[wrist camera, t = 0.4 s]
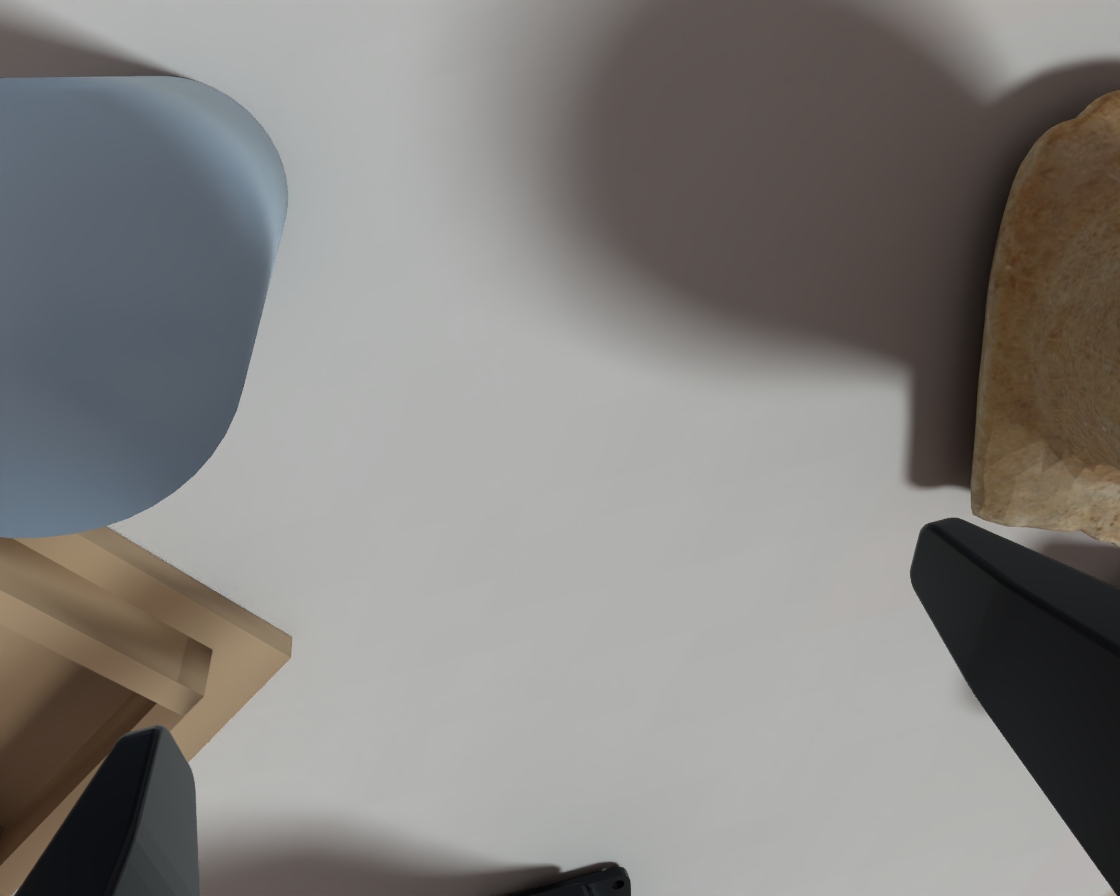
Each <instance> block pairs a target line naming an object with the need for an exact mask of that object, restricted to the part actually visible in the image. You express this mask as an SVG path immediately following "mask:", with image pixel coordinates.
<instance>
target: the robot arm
mask: <svg viewBox="0 0 1120 896" xmlns="http://www.w3.org/2000/svg"><path fill="white" fill-rule="evenodd" d="M910 578H911V583H912V586H913V588H914V590H915V592H916V594H917V596H918V598H919V599H920V601H921V603H922V605H923V606H924V608H925V610H926V612H927V614H928V615H929V617H930V619H931V621H932V622H933V624H934V626H935V628H936V629H937V631H938V633H939V635H940V636H941V638H942V640H943V642H944V643H945V645H946V647H947V649H948V650H949V652H950V654H951V656H952V657H953V659H954V661H955V663H956V664H957V666H958V668H959V670H960V671H961V673H962V675H963V677H964V678H965V680H966V682H967V683H968V685H969V687H970V688H971V690H972V691H973V693H974V695H975V696H976V698H977V699H978V700H979V702H980V703H981V705H982V706H983V708H984V709H985V711H986V712H987V714H988V715H989V716H990V718H991V719H992V721H993V722H994V723H995V725H996V726H997V728H998V729H999V730H1000V732H1001V733H1002V735H1003V736H1004V737H1005V739H1006V740H1007V742H1008V743H1009V744H1010V746H1011V747H1012V749H1013V750H1014V752H1015V753H1016V754H1017V756H1018V757H1019V759H1020V760H1021V761H1022V763H1023V764H1024V766H1025V767H1026V768H1027V770H1028V771H1029V773H1030V774H1031V775H1032V777H1033V778H1034V780H1035V781H1036V782H1037V784H1038V785H1039V787H1040V788H1041V789H1042V791H1043V792H1044V794H1045V795H1046V796H1047V798H1048V799H1049V801H1050V802H1051V803H1052V805H1053V806H1054V808H1055V809H1056V811H1057V812H1058V813H1059V815H1060V816H1061V818H1062V819H1063V820H1064V822H1065V823H1066V825H1067V826H1068V827H1069V829H1070V830H1071V832H1072V833H1073V834H1074V836H1075V837H1076V839H1077V840H1078V841H1079V843H1080V844H1081V846H1082V847H1083V848H1084V850H1085V851H1086V853H1087V854H1088V855H1089V857H1090V858H1091V860H1092V861H1093V862H1094V864H1095V865H1096V867H1097V868H1098V869H1099V871H1100V872H1101V874H1102V875H1103V877H1104V878H1105V879H1106V881H1107V882H1108V884H1109V885H1110V886H1111V888H1112V889H1113V891H1114V892H1115V893H1116V895H1117V896H1120V589H1119V588H1117V587H1115V586H1113V585H1110V584H1108V583H1106V582H1103V581H1101V580H1099V579H1097V578H1094V577H1092V576H1090V575H1088V574H1085V573H1083V572H1081V571H1078V570H1076V569H1074V568H1072V567H1069V566H1067V565H1065V564H1062V563H1060V562H1058V561H1056V560H1053V559H1051V558H1049V557H1047V556H1044V555H1042V554H1040V553H1037V552H1035V551H1033V550H1031V549H1028V548H1026V547H1024V546H1021V545H1019V544H1017V543H1015V542H1012V541H1010V540H1008V539H1006V538H1003V537H1001V536H999V535H996V534H994V533H992V532H990V531H987V530H985V529H983V528H980V527H978V526H976V525H974V524H971V523H969V522H967V521H965V520H962V519H959V518H947V519H943V520H939V521H935V522H931V523H928V524H926V525H924V526H923V528H922V529H921V530H920V533H919V537H918V541H917V544H916V548H915V552H914V556H913V560H912V564H911V569H910ZM14 896H200V895H199V869H198V844H197V819H196V793H195V782H194V777H193V773H192V770H191V768H190V766H189V764H188V762H187V760H186V759H185V757H184V755H183V753H182V752H181V750H180V748H179V747H178V745H177V743H176V741H175V740H174V738H173V736H172V735H171V733H170V731H169V730H168V729H167V728H166V727H165V726H163V725H155V726H151V727H147V728H143V729H139V730H136V731H132V732H128V733H126V734H124V735H123V736H121V737H120V738H119V739H118V740H117V742H116V743H115V744H114V746H113V747H112V749H111V750H110V752H109V753H108V755H107V756H106V758H105V759H104V761H103V762H102V764H101V765H100V767H99V768H98V770H97V771H96V773H95V775H94V776H93V778H92V779H91V781H90V782H89V784H88V785H87V787H86V788H85V790H84V791H83V793H82V794H81V796H80V797H79V799H78V800H77V802H76V803H75V805H74V806H73V808H72V809H71V811H70V812H69V814H68V815H67V817H66V818H65V820H64V821H63V823H62V824H61V826H60V827H59V829H58V830H57V832H56V833H55V835H54V836H53V838H52V839H51V841H50V842H49V844H48V845H47V847H46V849H45V850H44V852H43V853H42V855H41V856H40V858H39V859H38V861H37V862H36V864H35V865H34V867H33V868H32V870H31V871H30V873H29V874H28V876H27V877H26V879H25V880H24V882H23V883H22V885H21V886H20V888H19V889H18V891H17V892H16V894H15V895H14ZM514 896H631V884H630V879H629V876H628V873H627V871H626V869H624V868H623V867H615V868H611V869H607V870H604V871H600V872H597V873H593V874H589V875H586V876H582V877H579V878H575V879H571V880H568V881H564V882H561V883H557V884H553V885H550V886H546V887H543V888H539V889H535V890H532V891H528V892H525V893H521V894H517V895H514Z"/></svg>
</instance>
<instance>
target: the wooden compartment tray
mask: <svg viewBox="0 0 1120 896" xmlns="http://www.w3.org/2000/svg"><path fill="white" fill-rule="evenodd" d="M291 648H292V637H291V636H289V635H288V634H286V633H284V632H283V631H281V630H279V629H277V628H276V627H274V626H272V625H271V624H269V623H267V622H266V621H264V620H262V619H261V618H259V617H257V616H256V615H254V614H252V613H251V612H249V611H247V610H246V609H244V608H242V607H240V606H239V605H237V604H235V603H234V602H232V601H230V600H229V599H227V598H225V597H224V596H222V595H220V594H219V593H217V592H215V591H214V590H212V589H210V588H209V587H207V586H205V585H203V584H202V583H200V582H198V581H197V580H195V579H193V578H192V577H190V576H188V575H187V574H185V573H183V572H182V571H180V570H178V569H177V568H175V567H173V566H172V565H170V564H168V563H166V562H165V561H163V560H161V559H160V558H158V557H156V556H155V555H153V554H151V553H150V552H148V551H146V550H145V549H143V548H141V547H140V546H138V545H136V544H135V543H133V542H131V541H129V540H128V539H126V538H124V537H123V536H121V535H119V534H118V533H116V532H114V531H113V530H111V529H109V528H108V527H106V526H104V527H101V528H97V529H93V530H89V531H84V532H80V533H75V534H70V535H61V536H52V537H44V538H3V537H0V896H10V895H11V894H12V893H13V892H14V891H15V890H16V889H17V888H18V887H20V886H21V885H22V883H23V882H24V880H25V879H26V877H27V876H28V874H29V873H30V871H31V870H32V868H33V867H34V865H35V864H36V862H37V861H38V859H39V858H40V856H41V855H42V853H43V852H44V850H45V849H46V847H47V845H48V844H49V842H50V841H51V839H52V838H53V836H54V835H55V833H56V832H57V830H58V829H59V827H60V826H61V824H62V823H63V821H64V820H65V818H66V817H67V815H68V814H69V812H70V811H71V809H72V808H73V806H74V805H75V803H76V802H77V800H78V799H79V797H80V796H81V794H82V793H83V791H84V790H85V788H86V787H87V785H88V784H89V782H90V781H91V779H92V778H93V776H94V775H95V773H96V771H97V770H98V768H99V767H100V765H101V764H102V762H103V761H104V759H105V758H106V756H107V755H108V753H109V752H110V750H111V749H112V747H113V746H114V744H115V743H116V742H117V740H118V739H119V738H120V737H121V736H123V735H124V734H126V733H128V732H132V731H136V730H139V729H143V728H147V727H151V726H155V725H163V726H165V727H166V728H167V729H168V730H169V731H170V733H171V735H172V736H173V738H174V740H175V741H176V743H177V745H178V747H179V748H180V750H181V752H182V753H183V755H184V757H185V759H186V760H187V762H189V761H190V760H191V759H192V758H193V757H194V756H195V755H196V754H197V753H198V752H199V751H200V750H201V749H202V748H203V747H204V746H205V745H206V744H207V743H208V742H209V741H210V740H211V739H212V738H213V736H214V735H215V734H216V733H217V732H218V731H219V730H220V729H221V728H222V727H223V726H224V725H225V724H226V723H227V722H228V721H229V720H230V719H231V718H232V717H233V716H234V715H235V714H236V713H237V712H238V711H239V710H240V709H241V708H242V707H243V706H244V705H245V704H246V703H247V702H248V701H249V700H250V699H251V698H252V697H253V696H254V695H255V694H256V693H257V692H258V691H259V690H260V689H261V688H262V687H263V686H264V685H265V684H266V683H267V682H268V681H269V680H270V679H271V677H272V676H273V675H274V674H275V673H276V672H277V671H278V670H279V669H280V668H281V667H282V666H283V665H284V664H285V663H286V662H287V661H288V660H289V659H290V658H291Z"/></svg>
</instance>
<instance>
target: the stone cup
mask: <svg viewBox="0 0 1120 896" xmlns="http://www.w3.org/2000/svg"><path fill="white" fill-rule="evenodd" d="M971 508H972V513H973V515H975V516H977V517H979V518H981V519H983V520H986V521H990V522H993V523H997V524H1000V525H1004V526H1010V527H1030V528H1038V529H1046V530H1055V531H1067V532H1073V531H1078V530H1081V531H1083V532H1084V533H1086V534H1087V535H1089V536H1090V537H1092V538H1094V539H1096V540H1098V541H1102V542H1111V543H1113V544H1115V545H1117V546H1118V547H1120V90H1116V91H1112V92H1108V93H1107V94H1105V95H1103V96H1101V97H1099V98H1097V99H1095V100H1094V101H1093V102H1092V103H1090V104H1089V105H1088V106H1087V107H1086V108H1085V109H1084V110H1083V111H1082V112H1081V113H1080V114H1079V115H1078V116H1077V117H1076V118H1075V119H1071V120H1068V121H1064V122H1061V123H1059V124H1057V125H1055V126H1053V127H1051V128H1050V129H1048V130H1047V131H1046V132H1045V133H1044V134H1043V135H1042V136H1041V137H1040V138H1039V139H1038V140H1037V141H1036V142H1035V143H1034V144H1033V146H1032V148H1031V149H1030V151H1029V152H1028V154H1027V155H1026V157H1025V158H1024V160H1023V161H1022V163H1021V164H1020V167H1019V169H1018V172H1017V174H1016V176H1015V179H1014V181H1013V184H1012V187H1011V190H1010V194H1009V197H1008V201H1007V204H1006V207H1005V211H1004V214H1003V218H1002V222H1001V226H1000V230H999V234H998V239H997V243H996V248H995V252H994V257H993V261H992V267H991V274H990V280H989V286H988V292H987V303H986V313H985V323H984V332H983V343H982V355H981V364H980V372H979V381H978V395H977V411H976V427H975V440H974V452H973V464H972V475H971Z"/></svg>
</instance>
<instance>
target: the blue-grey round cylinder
mask: <svg viewBox="0 0 1120 896" xmlns="http://www.w3.org/2000/svg"><path fill="white" fill-rule="evenodd" d="M287 206H288V189H287V181H286V176H285V172H284V168H283V164H282V161H281V159H280V156H279V154H278V151H277V149H276V148H275V146H274V144H273V142H272V140H271V138H270V137H269V135H268V134H267V133H266V131H265V130H264V128H263V127H262V126H261V124H260V123H259V122H258V121H257V120H256V119H255V118H254V117H253V115H252V114H251V113H249V112H248V111H247V110H246V109H245V108H244V107H243V106H242V105H240V104H239V103H238V102H236V101H235V100H233V99H232V98H231V97H229V96H228V95H226V94H224V93H222V92H221V91H219V90H217V89H215V88H213V87H211V86H208V85H205V84H203V83H200V82H197V81H194V80H190V79H186V78H181V77H173V76H105V77H29V78H0V537H3V538H44V537H52V536H61V535H70V534H75V533H80V532H84V531H89V530H93V529H97V528H101V527H104V526H107V525H110V524H113V523H116V522H119V521H122V520H125V519H127V518H129V517H132V516H134V515H136V514H138V513H140V512H142V511H144V510H146V509H148V508H150V507H152V506H154V505H155V504H157V503H158V502H160V501H161V500H163V499H164V498H166V497H168V496H169V495H171V494H172V493H174V492H175V491H176V490H177V489H179V488H180V487H181V486H182V485H183V484H184V483H186V482H187V481H188V480H189V479H190V478H191V477H193V476H194V475H195V474H196V473H197V472H198V470H199V469H200V468H201V467H202V466H203V465H204V464H205V463H206V461H207V460H208V459H209V458H210V457H211V456H212V454H213V453H214V451H215V450H216V448H217V447H218V445H219V444H220V442H221V441H222V439H223V438H224V436H225V435H226V433H227V430H228V428H229V426H230V424H231V422H232V420H233V417H234V415H235V413H236V411H237V407H238V404H239V401H240V397H241V394H242V390H243V387H244V383H245V379H246V375H247V371H248V367H249V363H250V359H251V355H252V351H253V347H254V343H255V339H256V335H257V331H258V327H259V323H260V319H261V315H262V311H263V307H264V303H265V299H266V295H267V291H268V287H269V283H270V279H271V275H272V271H273V267H274V263H275V259H276V255H277V251H278V247H279V243H280V239H281V235H282V231H283V227H284V223H285V219H286V213H287Z"/></svg>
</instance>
